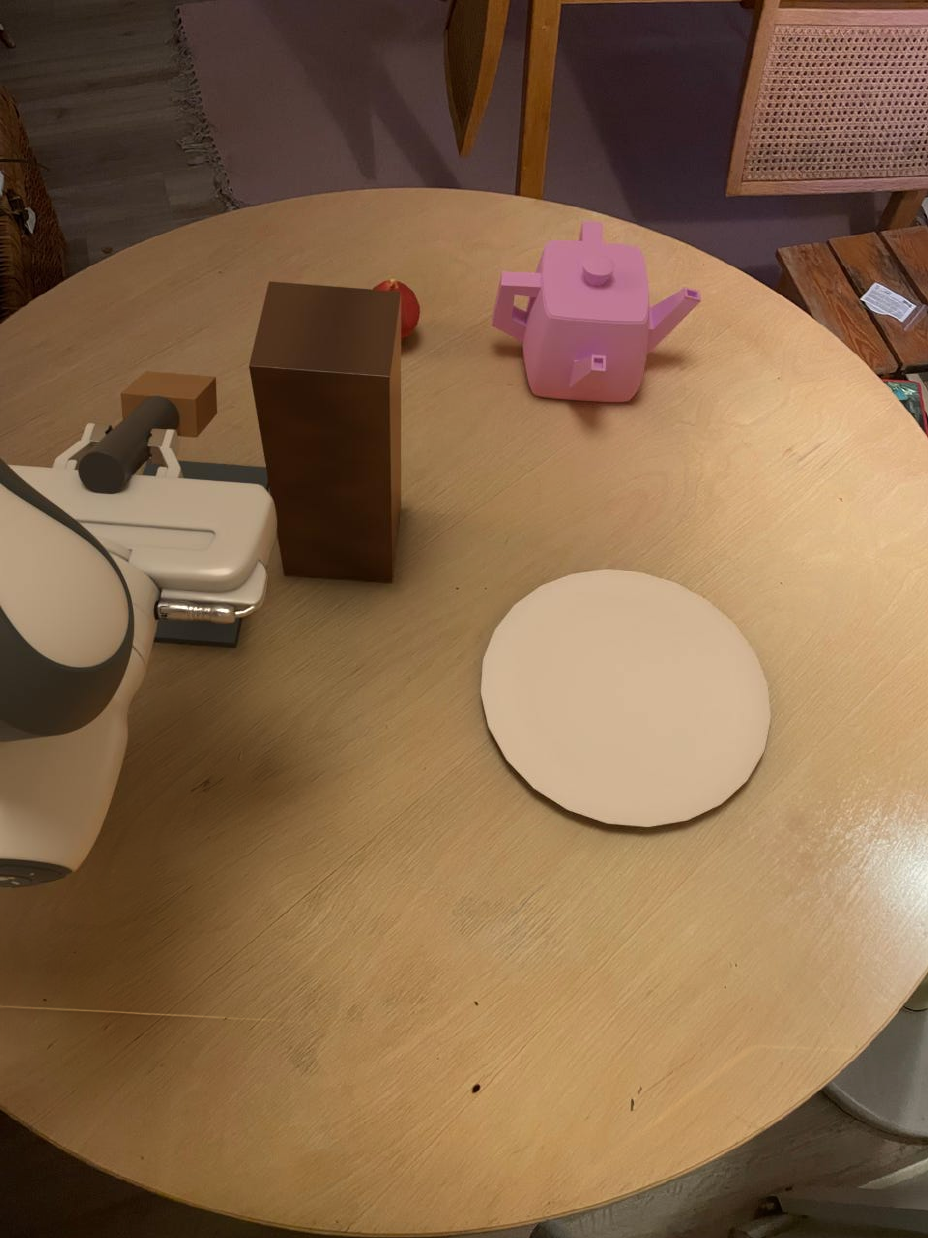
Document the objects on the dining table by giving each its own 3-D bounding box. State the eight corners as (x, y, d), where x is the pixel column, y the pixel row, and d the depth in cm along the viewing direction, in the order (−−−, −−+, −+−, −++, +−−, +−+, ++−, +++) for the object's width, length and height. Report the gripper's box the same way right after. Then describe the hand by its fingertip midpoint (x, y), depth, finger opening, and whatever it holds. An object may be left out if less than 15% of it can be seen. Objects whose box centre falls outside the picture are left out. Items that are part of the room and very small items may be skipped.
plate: (595, 892, 81) (599, 885, 79) (424, 656, 91) (424, 646, 90) (826, 737, 89) (833, 728, 88) (644, 537, 100) (648, 526, 98)
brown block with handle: (146, 499, 62) (143, 454, 61) (59, 492, 62) (54, 447, 61) (217, 413, 78) (216, 376, 77) (148, 407, 78) (145, 370, 77)
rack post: (283, 575, 95) (248, 365, 73) (297, 498, 100) (268, 280, 78) (392, 583, 95) (389, 376, 73) (401, 506, 100) (401, 291, 78)
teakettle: (576, 282, 119) (593, 187, 108) (690, 363, 113) (719, 269, 102) (469, 351, 112) (476, 256, 101) (584, 440, 106) (604, 349, 95)
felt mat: (98, 637, 91) (96, 632, 90) (148, 463, 101) (147, 457, 101) (236, 647, 91) (234, 643, 90) (271, 472, 102) (270, 467, 101)
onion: (354, 335, 112) (351, 274, 106) (395, 312, 115) (395, 251, 108) (388, 364, 110) (387, 305, 103) (430, 341, 112) (431, 281, 106)
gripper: (252, 594, 57) (289, 411, 65) (-119, 566, 57) (-39, 385, 64) (265, 652, 63) (298, 476, 70) (-75, 626, 62) (-6, 452, 70)
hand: (134, 432), depth 67 cm, fingers closed on brown block with handle, 3 cm apart
